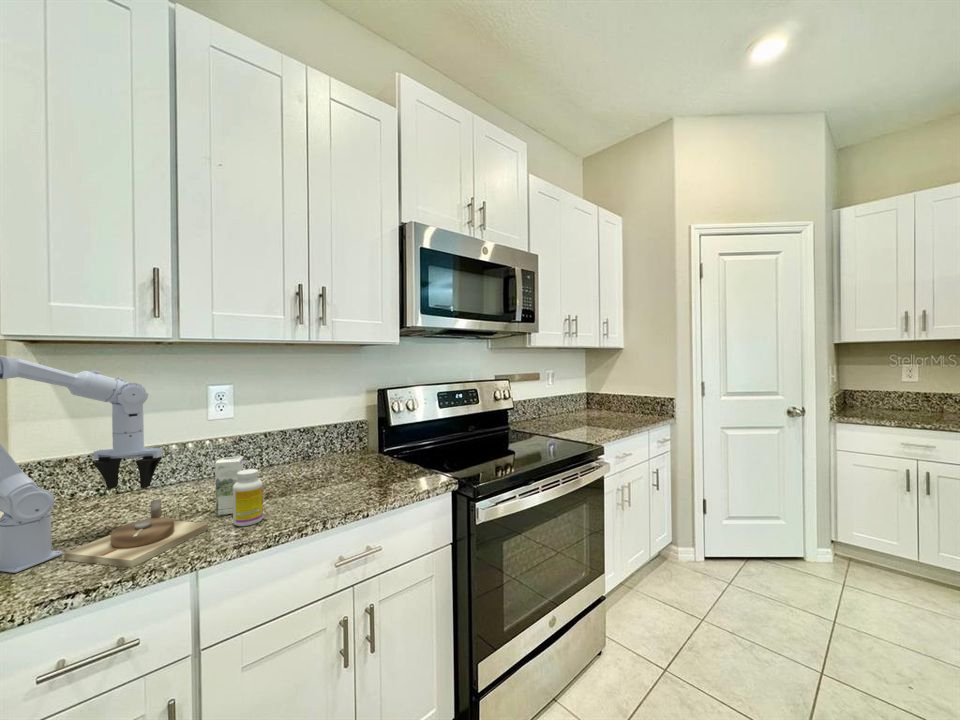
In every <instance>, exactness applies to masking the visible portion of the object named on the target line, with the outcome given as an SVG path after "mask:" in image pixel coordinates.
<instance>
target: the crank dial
mask: <svg viewBox="0 0 960 720" xmlns="http://www.w3.org/2000/svg"><path fill="white" fill-rule="evenodd" d="M174 521H175V520H174V519H173V518H171V517H165V516H164V517H162V499H154V500H151V501H150V518H145V519H141V520H136V521H133V522H130V523H126V524H123V525H122V526H120V527H117V528H115V529H114V530H112V531H111V532H110V535H111V545H112V546H113V547H119V548H124V547H134V546H140V545H144V544H148V543H152V542H155V541H158V540H160V539H163V538H165V537H167V536H169V535H170V534H172V533H173V532H174Z"/></svg>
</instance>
